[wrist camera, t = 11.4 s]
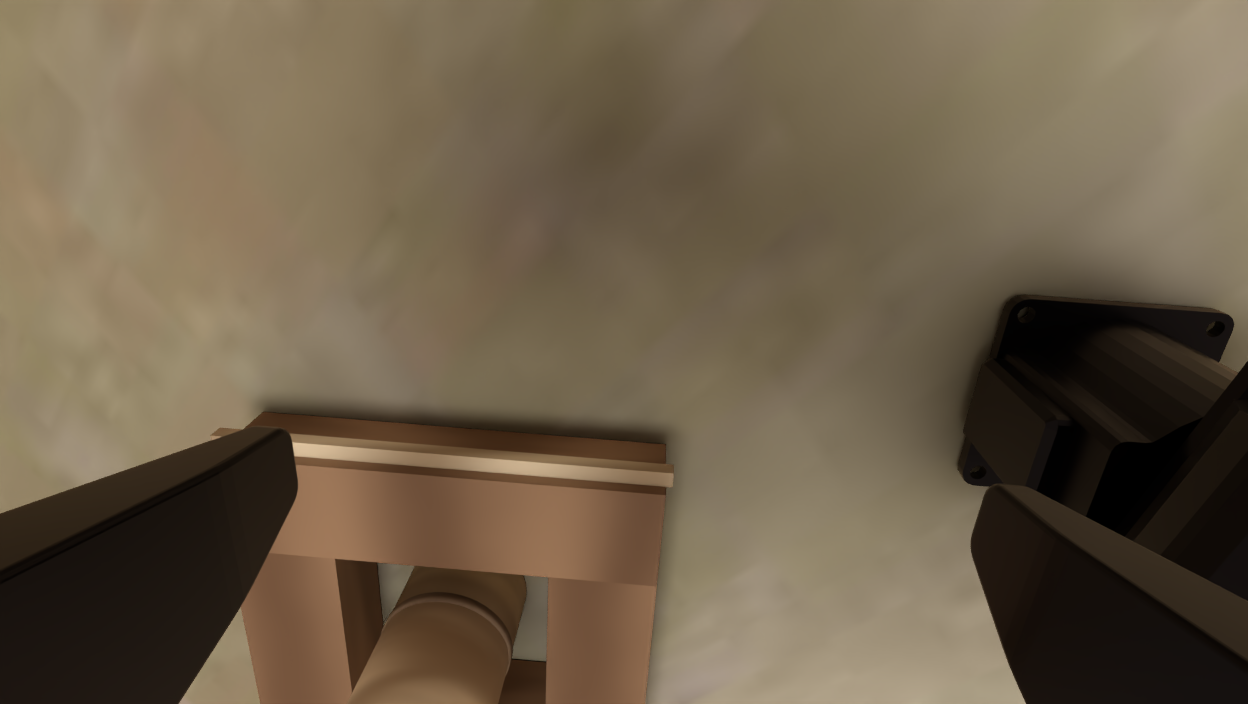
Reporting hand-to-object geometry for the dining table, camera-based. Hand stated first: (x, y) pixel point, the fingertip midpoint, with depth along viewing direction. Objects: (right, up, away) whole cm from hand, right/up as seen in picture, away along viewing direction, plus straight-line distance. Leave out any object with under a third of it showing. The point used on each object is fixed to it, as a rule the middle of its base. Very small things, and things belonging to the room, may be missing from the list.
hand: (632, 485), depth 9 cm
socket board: (-6, -7, +18) cm, 20 cm away
